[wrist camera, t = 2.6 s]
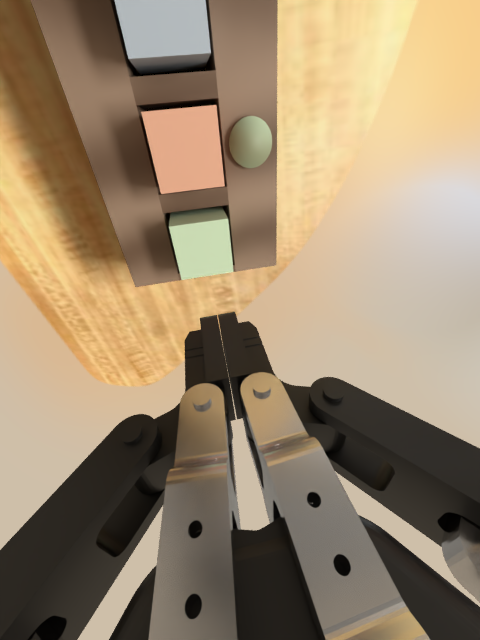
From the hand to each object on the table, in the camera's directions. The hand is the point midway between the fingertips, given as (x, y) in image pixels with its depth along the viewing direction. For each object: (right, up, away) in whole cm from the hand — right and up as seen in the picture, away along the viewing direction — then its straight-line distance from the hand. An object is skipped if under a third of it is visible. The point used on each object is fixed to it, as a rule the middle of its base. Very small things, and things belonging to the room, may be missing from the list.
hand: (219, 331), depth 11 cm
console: (-3, +14, +9) cm, 17 cm away
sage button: (-3, +8, +11) cm, 14 cm away
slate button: (-4, +18, +4) cm, 18 cm away
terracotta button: (-3, +13, +7) cm, 15 cm away
